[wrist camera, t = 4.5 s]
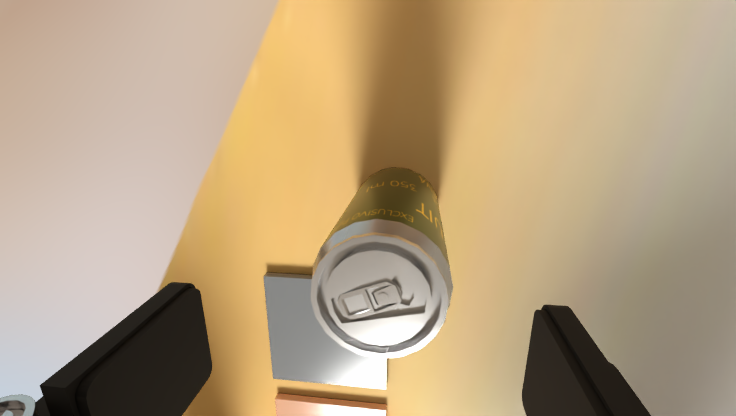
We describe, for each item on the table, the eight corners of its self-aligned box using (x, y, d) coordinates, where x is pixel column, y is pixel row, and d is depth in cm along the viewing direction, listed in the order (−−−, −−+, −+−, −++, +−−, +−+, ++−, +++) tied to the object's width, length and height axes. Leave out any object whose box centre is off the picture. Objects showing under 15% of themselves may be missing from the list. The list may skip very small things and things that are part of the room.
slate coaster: (388, 279, 26) (387, 283, 25) (386, 383, 29) (386, 389, 28) (266, 272, 27) (263, 276, 27) (276, 373, 30) (273, 378, 29)
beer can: (373, 252, 26) (337, 377, 14) (344, 181, 24) (279, 254, 13) (449, 229, 24) (475, 345, 13) (422, 153, 23) (425, 207, 12)
